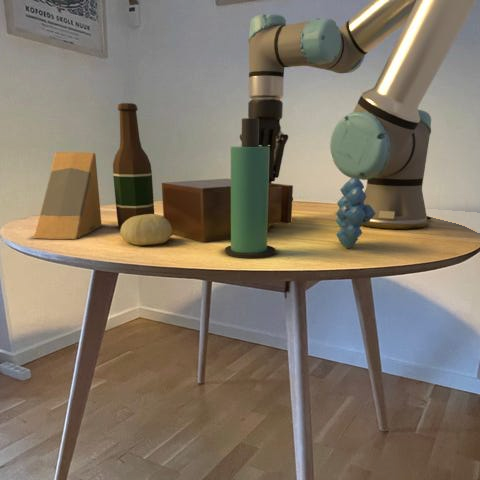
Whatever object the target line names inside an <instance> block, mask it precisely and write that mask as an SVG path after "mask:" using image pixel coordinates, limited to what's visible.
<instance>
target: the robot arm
mask: <svg viewBox="0 0 480 480" xmlns="http://www.w3.org/2000/svg"><path fill="white" fill-rule="evenodd" d="M477 2H478V0H370V1H369V2H368V3H367V4H365V6H363V7H362V8H361V9H360V10H358V12H356V14H354V15H353V16H352V17H350V18H349V19H348V20H347V21H346V22H345V23H344V24H342V25H341V26H339V25H338V24H337V22H336V21H335V20H334V19H332V18H321V19H320V18H314V19H311V20H307V21H302V22H296V23H290V24H287V20H286V18H285V16H283V15H281V14H275V13H266V14H265V13H264V14H263V13H262V14H258V15H255V16H253V17H252V19H251V20H250V23H249V35H248V66H249V67H248V71H249V72H248V98H249V99H250V100H249V102H247V103H248V107H247V118H258V119H259V146H258V147H270V150H269V183H273V182H275V181H276V179H278V178H279V176H280V171H281V166H282V161H283V157H284V152H285V147H286V144H287V142H288V140H289V135H288V134H287V133H286V134H285V133H283V132H282V127H281V123H280V121H281V120H282V118H283V109H284V102H283V101H282V100H281V99H283V98H284V83H285V82H284V80H285V79H284V78H285V68H291V67H292V68H293V67H311V68H315V69H320V70H324V71H330V72H334V73H336V74H350V73H353V72H355V71H357V70H358V69H359V68H360V67H361V65H362V63H363V62H364V60H365V57H366V55H367V54H368V53H369V52H371V51H372V50H373V49H375V48H376V47H377V46H378V45H380V44H381V43H382V42H384V41H385V40H386V39H388V38H389V37H390V36H391V35H393V34H394V33H396V32H397V31H398V30H399V29H401V28H402V27H403V28H402V30H401V32H400V34H399V36H398V38H397V40H396V42H395V44H394V46H393V48H392V50H391V52H390V54H389V56H388V58H387V61H386V63H385V65H384V67H383V69H382V71H381V73H380V75H379V76H378V79H377V80H376V83H375V85H374V86H373V87H372V88H371V89H368V90H366V91H364V92H361V95H360V96H359V99H358V101H357V103H356V105H355V107H354V109H353V111H352V112H350V113H348V114H346V115H345V116H343V117H342V118H341V119H340V120H339V121H338V122H337V123H336V125H335V127H334V128H333V130H332V134H331V137H330V142H329V144H330V146H329V148H330V154H331V156H332V161H333V163H334V166H336V168H337V169H338V171H340V173H342V174H343V175H344V176H346V177H348V178H350V179H351V178H353V177H356V178H359V180H360V181H361V180H362V181H366V186H365V190H364V191H363V192H364V193H365V195H366V199H365V200H364V202H363V203H364V204H365V205H370V206H371V207H372V209H373V210H374V212H375V215H374V217H373V218H372V219H371V220H370V221H369V222H366V223H363V224H362V225H361V226H366V227H371V228H377V229H387V230H388V229H390V230H391V229H392V230H411V229H419V228H424V227H425V226H426V225H427V221H431V220H432V217H431V216H428V215H427V209H426V204H425V199H424V193H423V184H424V177H425V171H426V163H427V158H428V150H429V143H430V136H431V133H432V127H431V126H432V117H431V115H430V113H429V112H428V111H425V110H422V109H419V106H420V104H421V102H422V100H423V99H424V97H425V95H426V93H427V92H428V90H429V88H430V86H431V84H432V83H433V81H434V79H435V77H436V75H437V73H438V72H439V70H440V68H441V66H442V64H443V63H444V61H445V60H446V58H447V55H448V54H449V52H450V50H451V48H452V46H453V45H454V43H455V41H456V39H457V38H458V36H459V34H460V32H461V30H462V29H463V27H464V25H465V24H466V22H467V20H468V18H469V16H470V14H471V13H472V11H473V9H474V7H475V5H476V4H477ZM239 139H240V142H241V143H242V133H240V134H239Z"/></svg>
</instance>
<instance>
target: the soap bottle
mask: <svg viewBox="0 0 480 480" xmlns="http://www.w3.org/2000/svg"><path fill="white" fill-rule="evenodd" d="M241 134H242V142H241V146H230V179H231V238H230V246H231V250H232V251H234V252H238V253H261V252H264V251H266V250H267V245H268V232H267V227H268V189H269V150H270V147H258V146H260V145H259V119H258V118H248V117H244V118H241Z"/></svg>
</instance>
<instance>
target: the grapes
mask: <svg viewBox="0 0 480 480" xmlns="http://www.w3.org/2000/svg"><path fill="white" fill-rule="evenodd" d="M364 188H365V186H364V183H363V182H362V181H361V179H359V178H356V177H353V178H350V179H349V180H348V181H346V182H345V183H344V184H343V186H342V187H341V188H340V189H339V190H340V192H341V194H342V195H343V196H342V197H340V199H339V200H338V201H337V202H336V204H337V206H338V208H339V209H337V211H336V212H335V215H336V219H335V223H336V224H337V225H338V227H339V228H340V229H339V230H338V231H337V232H336V234H335V235H336V237H337V238H338V241H339V243H340V244H341V245H342V246H343V248H345V249H349V248H352V247H353V246H354V245H355V244H356V243H357V241H358V240H359V239H358V238H359V237H361V235H362V234H363V231H362V229H361V227H362V226H363V225H362V224H363V223H366V222H369V221H370V220H371V219H372V218H373V217H374V215H375V212H374V210H373V209H372V207H371V206H370V205H365V204H364V203H363V202H364V200H365V199H366V195H365V193H364V192H365V191H364Z"/></svg>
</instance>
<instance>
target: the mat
mask: <svg viewBox="0 0 480 480" xmlns="http://www.w3.org/2000/svg"><path fill="white" fill-rule="evenodd" d="M224 253H225V254H226V255H227V256H230V257H234V258H238V259H239V258H240V259H263V258H268V257H271V256H274V255H275V254H276V248H275V247H274V246H272V245H268V244H267V250H266V251H264V252H261V253H238V252H234V251H232V250H231V245H228V246H226V247H225V248H224Z"/></svg>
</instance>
